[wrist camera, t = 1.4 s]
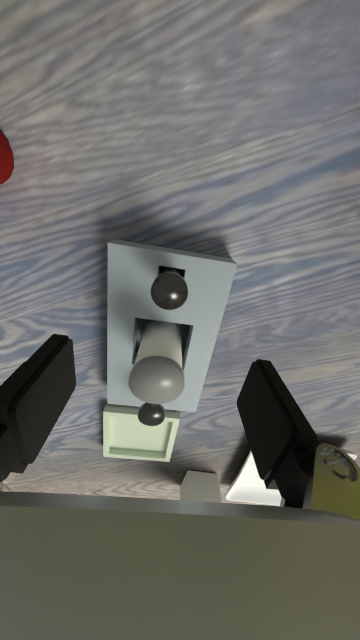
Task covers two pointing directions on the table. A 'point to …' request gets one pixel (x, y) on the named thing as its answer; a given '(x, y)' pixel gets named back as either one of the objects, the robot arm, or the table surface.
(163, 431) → the tray
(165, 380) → the cartridge
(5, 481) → the pipe connector
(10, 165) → the plastic cup
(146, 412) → the plunger
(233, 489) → the salad plate
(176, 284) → the plunger
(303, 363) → the table surface
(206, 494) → the milk carton
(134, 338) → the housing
